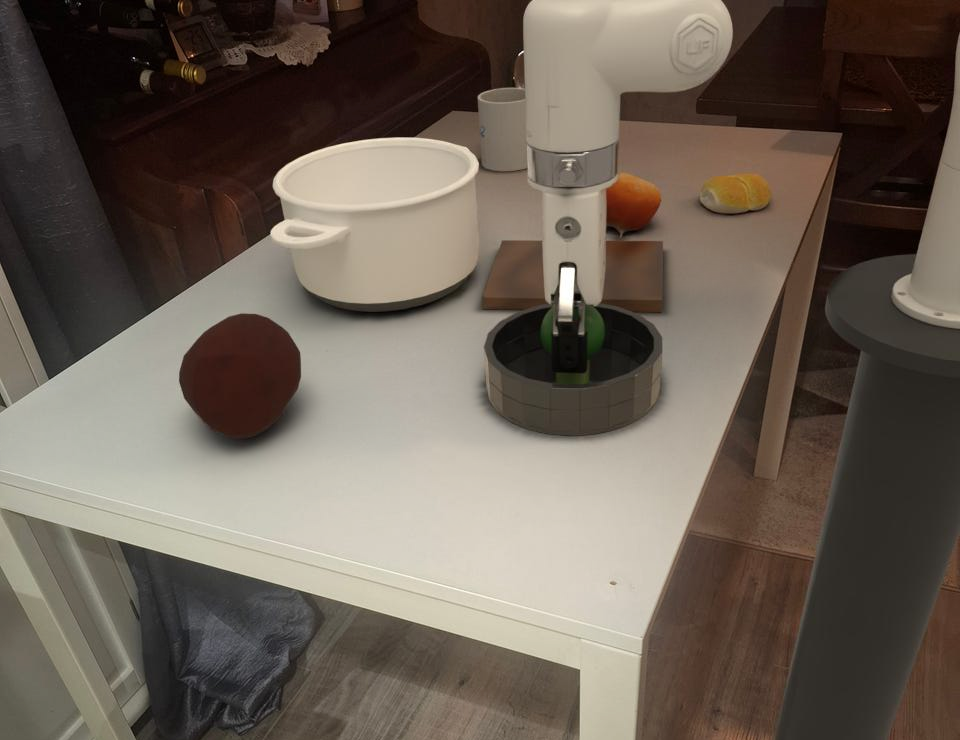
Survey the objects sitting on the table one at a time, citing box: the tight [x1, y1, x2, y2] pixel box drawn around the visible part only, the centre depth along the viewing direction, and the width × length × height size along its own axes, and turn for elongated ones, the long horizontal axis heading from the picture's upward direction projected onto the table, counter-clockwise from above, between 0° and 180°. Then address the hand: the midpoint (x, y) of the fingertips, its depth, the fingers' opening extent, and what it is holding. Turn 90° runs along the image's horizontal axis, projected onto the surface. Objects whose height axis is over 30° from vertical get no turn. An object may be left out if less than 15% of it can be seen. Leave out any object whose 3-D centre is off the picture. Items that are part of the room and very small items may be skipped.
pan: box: [483, 303, 663, 437], centre depth 85 cm, size 17×17×5 cm
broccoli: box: [540, 305, 605, 385], centre depth 84 cm, size 6×6×8 cm
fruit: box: [606, 172, 662, 239], centre depth 115 cm, size 8×8×8 cm
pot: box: [269, 137, 480, 313], centre depth 105 cm, size 33×23×14 cm
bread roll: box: [699, 172, 772, 214], centre depth 120 cm, size 8×9×4 cm
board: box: [481, 239, 664, 313], centre depth 105 cm, size 20×16×2 cm
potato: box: [178, 312, 302, 440], centre depth 83 cm, size 11×13×10 cm
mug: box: [477, 87, 527, 172], centre depth 139 cm, size 12×9×10 cm
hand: (572, 351), depth 84 cm, fingers open, 6 cm apart
